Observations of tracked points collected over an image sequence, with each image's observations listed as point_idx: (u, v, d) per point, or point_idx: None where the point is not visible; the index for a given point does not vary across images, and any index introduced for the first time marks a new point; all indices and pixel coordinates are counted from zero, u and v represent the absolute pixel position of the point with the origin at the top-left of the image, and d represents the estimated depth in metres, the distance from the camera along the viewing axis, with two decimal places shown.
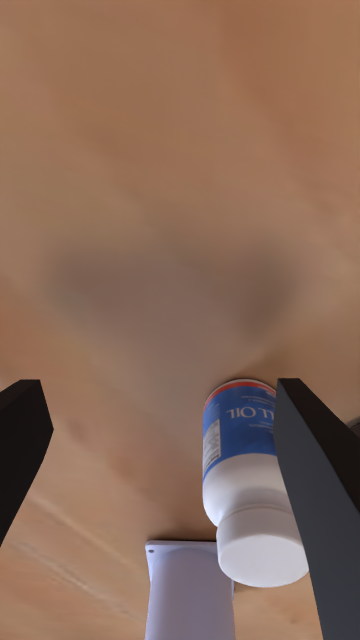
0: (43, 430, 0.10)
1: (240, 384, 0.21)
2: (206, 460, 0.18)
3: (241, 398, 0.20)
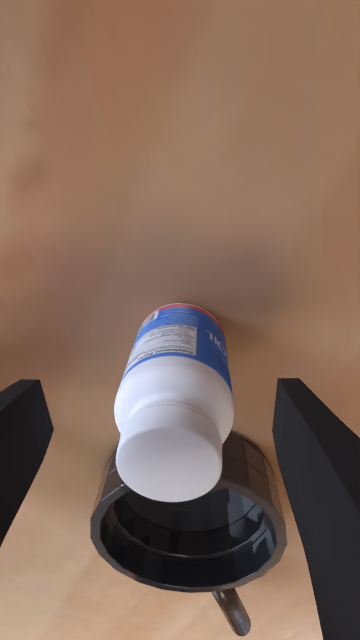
0: (43, 430, 0.10)
1: (218, 323, 0.20)
2: (168, 345, 0.15)
3: (218, 333, 0.18)
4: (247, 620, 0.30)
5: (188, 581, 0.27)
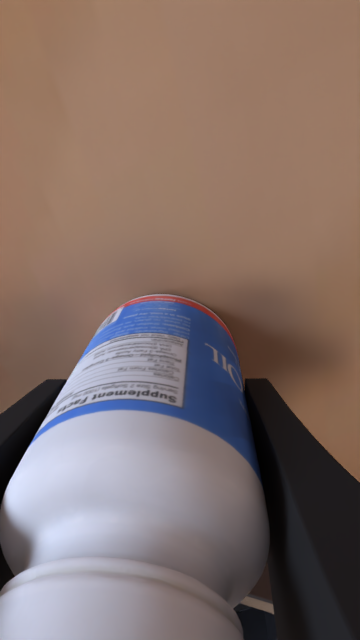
0: None
1: (226, 329, 0.11)
2: (123, 380, 0.07)
3: (227, 348, 0.10)
4: None
5: None
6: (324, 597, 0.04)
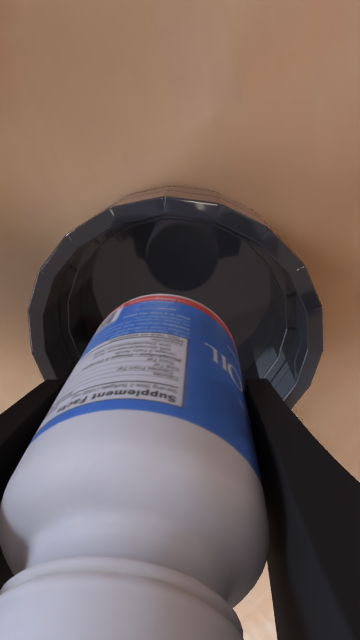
0: None
1: (226, 329, 0.11)
2: (123, 380, 0.07)
3: (227, 348, 0.10)
4: None
5: None
6: (324, 597, 0.04)
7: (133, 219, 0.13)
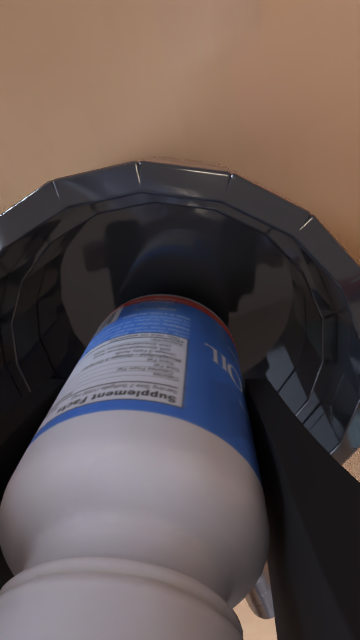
0: None
1: (226, 329, 0.11)
2: (123, 380, 0.07)
3: (227, 348, 0.10)
4: None
5: None
6: (324, 598, 0.04)
7: (90, 200, 0.08)
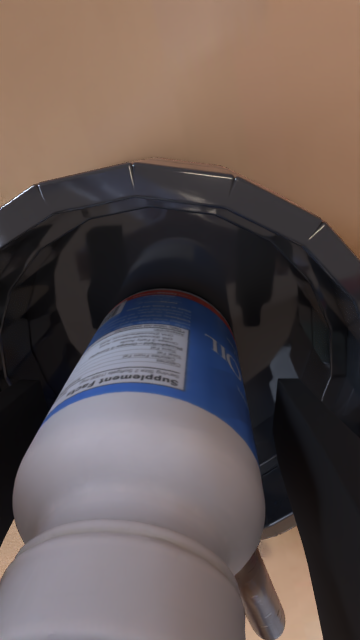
0: None
1: (225, 322, 0.12)
2: (128, 366, 0.07)
3: (226, 339, 0.11)
4: (280, 611, 0.16)
5: None
6: None
7: (79, 205, 0.07)
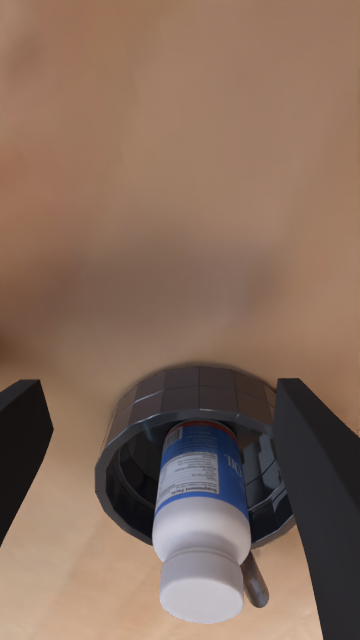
0: (44, 430, 0.10)
1: (233, 437, 0.23)
2: (196, 481, 0.19)
3: (234, 452, 0.22)
4: (265, 590, 0.27)
5: None
6: None
7: (177, 420, 0.18)
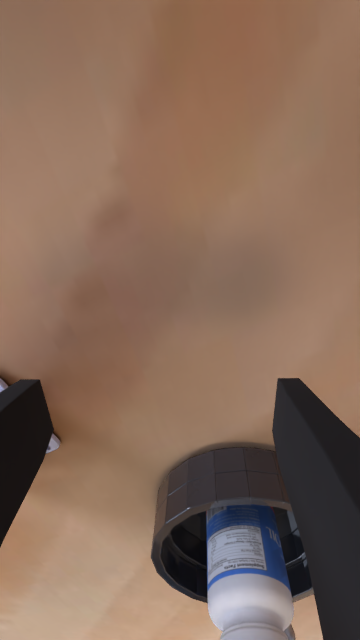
0: (43, 430, 0.10)
1: None
2: (245, 557, 0.22)
3: (272, 522, 0.25)
4: (293, 633, 0.30)
5: None
6: None
7: (230, 505, 0.21)
